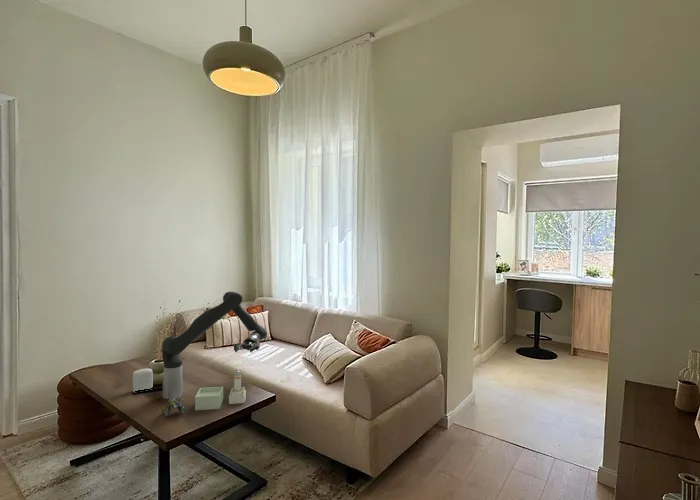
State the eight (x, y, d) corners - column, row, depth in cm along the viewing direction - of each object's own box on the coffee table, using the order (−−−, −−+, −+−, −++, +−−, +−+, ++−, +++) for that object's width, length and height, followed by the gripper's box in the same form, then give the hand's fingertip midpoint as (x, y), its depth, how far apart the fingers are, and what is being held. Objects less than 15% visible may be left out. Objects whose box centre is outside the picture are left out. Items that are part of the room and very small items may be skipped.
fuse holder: (228, 404, 203) (228, 393, 203) (231, 397, 211) (231, 387, 211) (244, 403, 205) (244, 392, 204) (246, 396, 213) (245, 386, 212)
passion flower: (180, 423, 193) (191, 407, 190) (159, 428, 184) (170, 410, 181) (172, 405, 199) (183, 389, 196) (152, 409, 190) (162, 392, 188)
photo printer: (152, 387, 226) (152, 366, 226) (153, 389, 222) (153, 368, 222) (132, 390, 220) (132, 369, 220) (133, 393, 217) (132, 371, 216)
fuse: (233, 394, 206) (233, 372, 205) (234, 392, 209) (234, 370, 209) (240, 394, 206) (240, 372, 206) (241, 391, 210) (241, 370, 210)
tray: (195, 410, 196) (195, 396, 196) (200, 400, 208) (200, 387, 207) (219, 408, 198) (219, 395, 198) (223, 399, 210) (223, 386, 209)
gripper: (239, 336, 234) (230, 344, 218) (262, 336, 234) (255, 344, 217) (240, 348, 234) (231, 357, 218) (263, 348, 234) (255, 357, 218)
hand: (243, 350), depth 218 cm, fingers open, 8 cm apart
